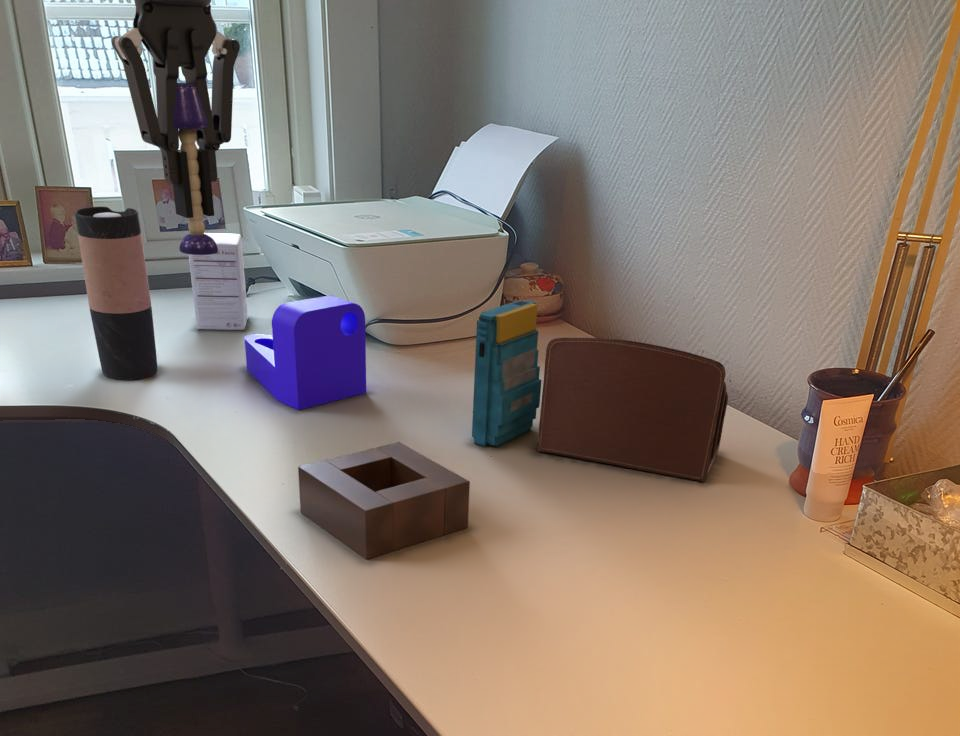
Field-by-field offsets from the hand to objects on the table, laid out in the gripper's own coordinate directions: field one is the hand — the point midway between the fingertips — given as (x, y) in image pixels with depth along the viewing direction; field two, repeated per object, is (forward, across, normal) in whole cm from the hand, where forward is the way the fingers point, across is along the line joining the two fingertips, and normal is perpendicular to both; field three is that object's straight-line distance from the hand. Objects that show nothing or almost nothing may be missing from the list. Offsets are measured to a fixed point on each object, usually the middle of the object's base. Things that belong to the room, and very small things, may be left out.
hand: (195, 214), depth 110 cm
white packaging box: (+23, +19, +34) cm, 45 cm away
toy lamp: (+4, 0, 0) cm, 4 cm away
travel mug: (+23, -3, +19) cm, 30 cm away
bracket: (+23, +13, +4) cm, 26 cm away
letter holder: (+23, +33, -39) cm, 56 cm away
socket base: (+22, -1, -37) cm, 43 cm away
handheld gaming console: (+23, +24, -27) cm, 43 cm away
